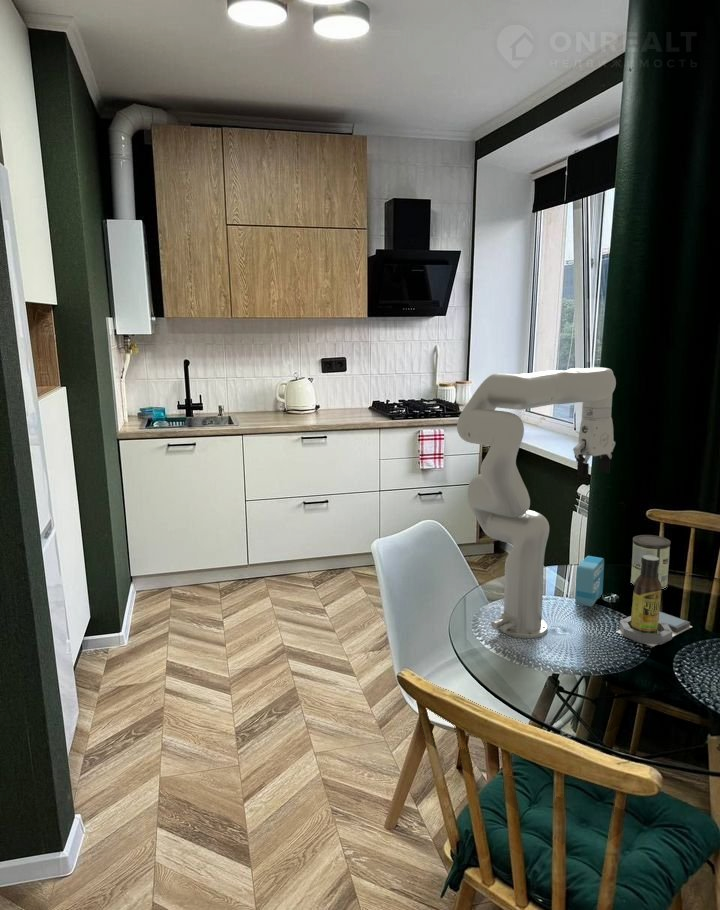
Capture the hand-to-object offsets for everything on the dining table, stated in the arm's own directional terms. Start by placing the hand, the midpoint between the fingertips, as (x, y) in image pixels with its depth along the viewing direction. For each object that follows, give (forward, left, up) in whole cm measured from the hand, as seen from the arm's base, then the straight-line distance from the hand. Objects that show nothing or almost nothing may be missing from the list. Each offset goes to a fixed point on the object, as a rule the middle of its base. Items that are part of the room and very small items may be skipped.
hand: (593, 474), depth 179 cm
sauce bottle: (-10, -24, -35) cm, 44 cm away
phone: (-1, -24, -35) cm, 43 cm away
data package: (-2, -2, -37) cm, 37 cm away
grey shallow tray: (-6, -24, -36) cm, 44 cm away
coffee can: (+23, -5, -36) cm, 43 cm away
